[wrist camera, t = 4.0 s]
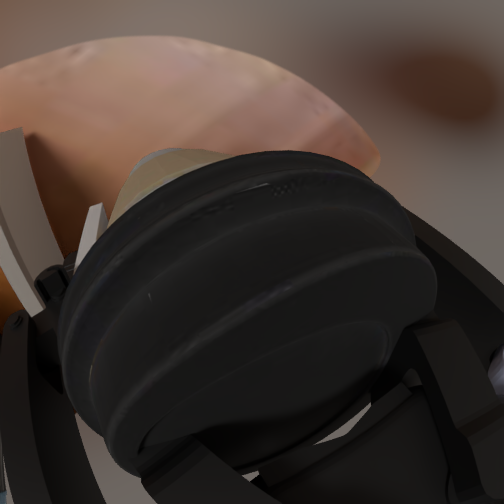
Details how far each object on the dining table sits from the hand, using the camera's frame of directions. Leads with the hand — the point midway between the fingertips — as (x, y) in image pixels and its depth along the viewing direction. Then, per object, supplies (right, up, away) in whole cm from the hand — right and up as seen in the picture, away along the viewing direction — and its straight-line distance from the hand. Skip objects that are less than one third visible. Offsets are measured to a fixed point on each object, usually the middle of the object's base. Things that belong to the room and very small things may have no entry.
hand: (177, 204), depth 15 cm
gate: (-13, +1, +2) cm, 14 cm away
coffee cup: (-1, +1, +2) cm, 3 cm away
